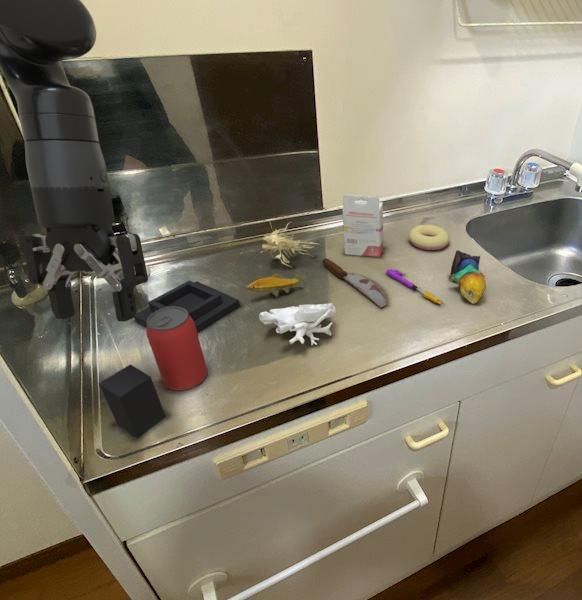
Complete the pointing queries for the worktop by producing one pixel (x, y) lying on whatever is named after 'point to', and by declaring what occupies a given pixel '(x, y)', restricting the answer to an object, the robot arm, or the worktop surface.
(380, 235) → the ink cartridge box
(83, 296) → the worktop surface
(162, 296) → the base pad
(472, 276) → the figurine
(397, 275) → the marker pen
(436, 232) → the donut
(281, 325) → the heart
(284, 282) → the yellow koi
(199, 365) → the beer can
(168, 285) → the worktop surface
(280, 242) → the cream spiky piece
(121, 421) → the pad block
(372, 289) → the kitchen knife
